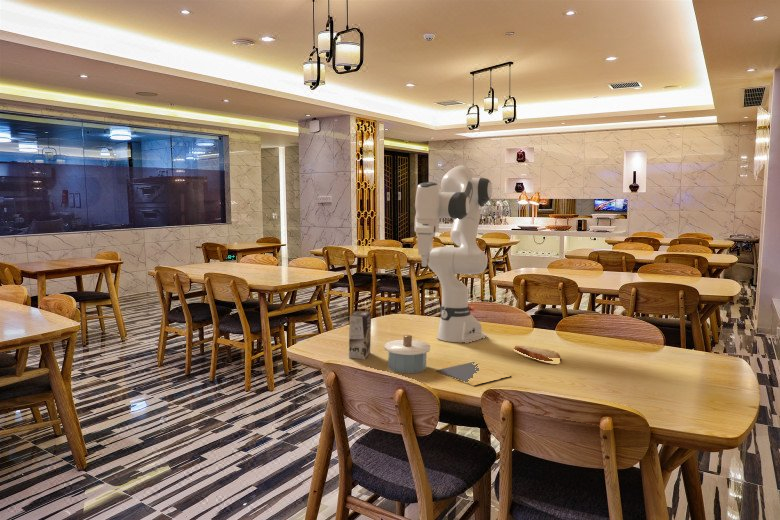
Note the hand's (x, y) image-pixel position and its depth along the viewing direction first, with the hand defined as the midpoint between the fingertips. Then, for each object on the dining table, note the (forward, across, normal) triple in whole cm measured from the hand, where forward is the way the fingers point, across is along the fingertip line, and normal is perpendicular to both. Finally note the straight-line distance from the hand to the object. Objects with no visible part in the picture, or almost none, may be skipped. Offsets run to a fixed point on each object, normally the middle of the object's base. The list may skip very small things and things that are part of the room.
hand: (425, 264), depth 203 cm
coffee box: (+35, +2, -23) cm, 42 cm away
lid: (+28, +13, -4) cm, 31 cm away
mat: (+35, +15, +19) cm, 43 cm away
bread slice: (+36, -12, +43) cm, 57 cm away
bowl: (+35, +13, -4) cm, 38 cm away
